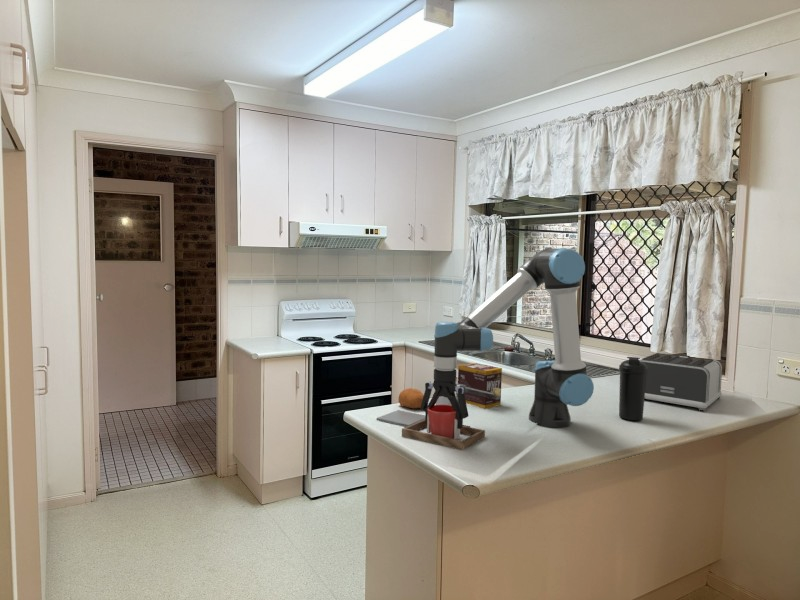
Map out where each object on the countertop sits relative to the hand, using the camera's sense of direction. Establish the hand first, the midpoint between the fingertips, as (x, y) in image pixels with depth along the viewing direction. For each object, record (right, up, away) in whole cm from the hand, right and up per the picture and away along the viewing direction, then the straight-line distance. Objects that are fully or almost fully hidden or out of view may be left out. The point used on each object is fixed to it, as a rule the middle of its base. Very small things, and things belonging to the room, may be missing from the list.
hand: (443, 434), depth 187 cm
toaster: (+109, +1, +64) cm, 127 cm away
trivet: (-13, +1, +20) cm, 24 cm away
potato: (-9, +2, +36) cm, 37 cm away
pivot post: (+6, 0, +9) cm, 11 cm away
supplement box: (+18, +2, +45) cm, 49 cm away
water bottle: (+75, 0, +30) cm, 80 cm away
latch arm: (+12, +13, +3) cm, 18 cm away
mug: (+4, +1, +32) cm, 33 cm away
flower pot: (0, -1, 0) cm, 1 cm away
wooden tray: (0, -1, 0) cm, 1 cm away
